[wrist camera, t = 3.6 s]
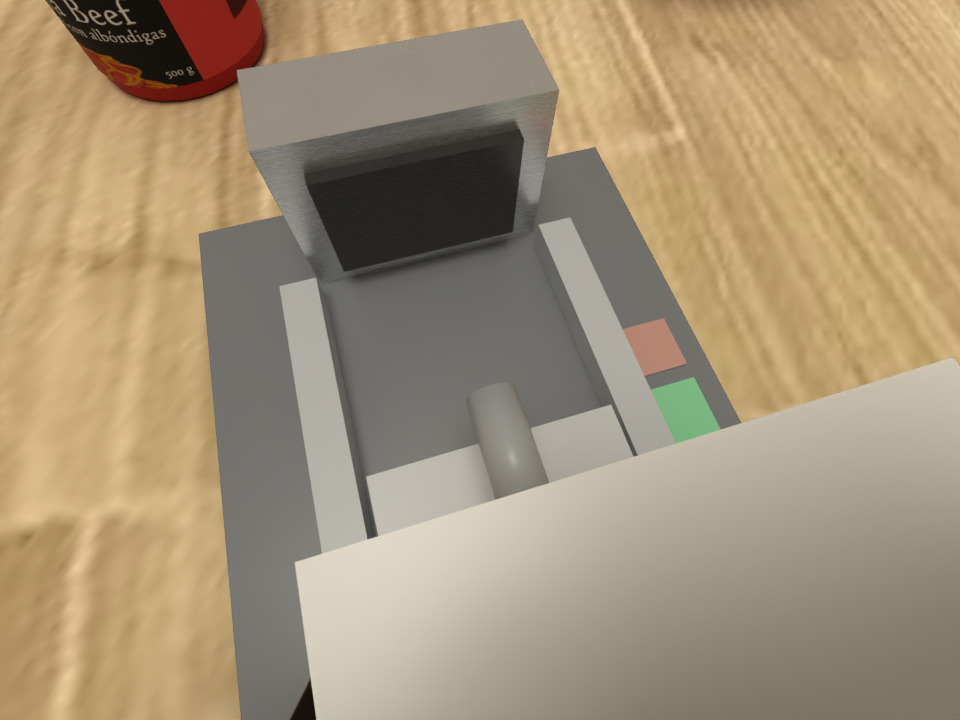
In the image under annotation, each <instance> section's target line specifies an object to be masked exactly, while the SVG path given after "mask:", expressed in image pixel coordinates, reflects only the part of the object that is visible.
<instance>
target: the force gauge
mask: <svg viewBox="0 0 960 720" xmlns="http://www.w3.org/2000/svg"><path fill="white" fill-rule="evenodd" d="M466 404H467V407H468V411H469V414H470V417H471V421H472V424H473V427H474V430H475V434H476V437H477V440H478V444H475V445H472V446H469V447H465V448H462V449H458V450H455V451H452V452H448V453H445V454H441V455H438V456H435V457H431V458H428V459H424V460H421V461H418V462H414V463H411V464H407V465H404V466H401V467H397V468H394V469H390V470H387V471H384V472H380V473H377V474H373V475H370V476H367V477H366V479H367V484H368V489H369V494H370V499H371V504H372V508H373V513H374V518H375V523H376V528H377V533H378V536H377V537H374V538H371V539H368V540H365V541H361V542H358V543H355V544H352V545H348V546H345V547H342V548H339V549H336V550H332V551H329V552H326V553H323V554H320V555H316V556H313V557H310V558H307V559H304V560H300V561H297V562H295V569H296V576H297V583H298V590H299V598H300V605H301V612H302V619H303V627H304V634H305V641H306V648H307V656H308V663H309V670H310V677H311V685H312V692H313V699H314V706H315V713H316V720H960V366H959V364H958V363H957V362H956V360H955V359H954V358H953V357H952V358H949V359H946V360H942V361H939V362H936V363H933V364H930V365H926V366H923V367H920V368H917V369H914V370H910V371H907V372H904V373H901V374H898V375H894V376H891V377H888V378H885V379H881V380H878V381H875V382H872V383H869V384H865V385H862V386H859V387H856V388H853V389H849V390H846V391H843V392H840V393H837V394H833V395H830V396H827V397H824V398H820V399H817V400H814V401H811V402H808V403H804V404H801V405H798V406H795V407H792V408H788V409H785V410H782V411H779V412H776V413H772V414H769V415H766V416H763V417H759V418H756V419H753V420H750V421H747V422H743V423H740V424H737V425H734V426H731V427H727V428H724V429H721V430H718V431H715V432H711V433H708V434H705V435H702V436H698V437H695V438H692V439H689V440H686V441H682V442H679V443H676V444H673V445H670V446H666V447H663V448H660V449H657V450H654V451H650V452H647V453H644V454H641V455H637V456H634V457H633V454H632V452H631V450H630V447H629V445H628V442H627V440H626V438H625V435H624V433H623V431H622V428H621V426H620V424H619V421H618V419H617V417H616V414H615V412H614V410H613V407H612V405H608V406H605V407H601V408H598V409H594V410H591V411H588V412H584V413H581V414H577V415H574V416H571V417H567V418H564V419H560V420H557V421H554V422H550V423H547V424H543V425H540V426H537V427H533V428H530V426H529V423H528V420H527V417H526V414H525V412H524V409H523V406H522V403H521V400H520V397H519V394H518V392H517V389H516V386H515V384H514V383H510V382H503V383H497V384H492V385H489V386H486V387H483V388H481V389H479V390H477V391H475V392H473V393H472V394H470V395H469V396H468V397H467V398H466Z"/></svg>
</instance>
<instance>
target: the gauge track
mask: <svg viewBox="0 0 960 720" xmlns="http://www.w3.org/2000/svg"><path fill="white" fill-rule="evenodd" d="M199 243H200V255H201V266H202V277H203V289H204V300H205V312H206V323H207V334H208V346H209V357H210V369H211V380H212V391H213V403H214V414H215V426H216V437H217V448H218V460H219V471H220V483H221V494H222V505H223V517H224V528H225V540H226V551H227V562H228V574H229V585H230V597H231V608H232V620H233V631H234V642H235V654H236V665H237V677H238V688H239V699H240V711H241V720H289V719H290V717H291V715H292V713H293V711H294V709H295V707H296V705H297V703H298V701H299V699H300V697H301V695H302V693H303V691H304V689H305V687H306V685H307V683H308V681H309V679H310V670H309V663H308V656H307V648H306V641H305V634H304V627H303V619H302V612H301V605H300V598H299V590H298V583H297V576H296V569H295V562H297V561H300V560H304V559H307V558H310V557H313V556H316V555H320V554H323V553H326V552H329V551H332V550H336V549H339V548H342V547H345V546H348V545H352V544H355V543H358V542H361V541H365V540H368V539H371V538H374V537H377V536H378V533H377V528H376V523H375V518H374V513H373V508H372V504H371V499H370V494H369V489H368V484H367V479H366V477H367V476H370V475H373V474H377V473H380V472H384V471H387V470H390V469H394V468H397V467H401V466H404V465H407V464H411V463H414V462H418V461H421V460H424V459H428V458H431V457H435V456H438V455H441V454H445V453H448V452H452V451H455V450H458V449H462V448H465V447H469V446H472V445H475V444H478V440H477V437H476V434H475V430H474V427H473V424H472V421H471V417H470V414H469V411H468V407H467V404H466V398H467V397H468V396H469V395H470V394H472V393H473V392H475V391H477V390H479V389H481V388H483V387H486V386H489V385H492V384H497V383H503V382H510V383H514V384H515V386H516V389H517V392H518V394H519V397H520V400H521V403H522V406H523V409H524V412H525V414H526V417H527V420H528V423H529V426H530V428H533V427H537V426H540V425H543V424H547V423H550V422H554V421H557V420H560V419H564V418H567V417H571V416H574V415H577V414H581V413H584V412H588V411H591V410H594V409H598V408H601V407H605V406H608V405H612V407H613V410H614V412H615V414H616V417H617V419H618V421H619V424H620V426H621V428H622V431H623V433H624V435H625V438H626V440H627V442H628V445H629V447H630V450H631V452H632V454H633V457H634V456H637V455H641V454H644V453H647V452H650V451H654V450H657V449H660V448H663V447H666V446H670V445H673V444H676V443H679V442H682V441H686V440H689V439H692V438H695V437H698V436H702V435H705V434H708V433H711V432H715V431H718V430H721V429H724V428H727V427H731V426H734V425H737V424H740V423H741V421H740V420H739V418H738V416H737V414H736V412H735V410H734V408H733V406H732V404H731V403H730V401H729V399H728V397H727V395H726V393H725V391H724V389H723V387H722V386H721V384H720V382H719V380H718V378H717V376H716V374H715V372H714V371H713V369H712V367H711V365H710V363H709V361H708V359H707V357H706V355H705V354H704V352H703V350H702V348H701V346H700V344H699V342H698V340H697V338H696V337H695V335H694V333H693V331H692V329H691V327H690V325H689V323H688V321H687V320H686V318H685V316H684V314H683V312H682V310H681V308H680V306H679V304H678V303H677V301H676V299H675V297H674V295H673V293H672V291H671V289H670V287H669V286H668V284H667V282H666V280H665V278H664V276H663V274H662V272H661V270H660V269H659V267H658V265H657V263H656V261H655V259H654V257H653V255H652V253H651V252H650V250H649V248H648V246H647V244H646V242H645V240H644V238H643V236H642V235H641V233H640V231H639V229H638V227H637V225H636V223H635V221H634V219H633V218H632V216H631V214H630V212H629V210H628V208H627V206H626V204H625V202H624V201H623V199H622V197H621V195H620V193H619V191H618V189H617V187H616V185H615V184H614V182H613V180H612V178H611V176H610V174H609V172H608V170H607V168H606V167H605V165H604V163H603V161H602V159H601V157H600V155H599V153H598V151H597V150H596V148H595V147H594V148H589V149H585V150H580V151H576V152H571V153H567V154H562V155H557V156H553V157H548V158H546V164H545V169H544V175H543V180H542V185H541V191H540V196H539V202H538V207H537V213H536V218H535V223H534V229H533V234H532V235H529V236H525V237H521V238H517V239H513V240H508V241H504V242H500V243H496V244H492V245H488V246H483V247H479V248H475V249H471V250H467V251H462V252H458V253H454V254H450V255H446V256H442V257H437V258H433V259H429V260H425V261H421V262H416V263H412V264H408V265H404V266H400V267H396V268H391V269H387V270H383V271H379V272H375V273H371V274H366V275H362V276H358V277H354V278H350V279H345V280H341V281H337V282H333V283H329V284H325V285H321V284H320V282H319V281H318V279H317V277H316V275H315V273H314V271H313V269H312V268H311V266H310V264H309V262H308V260H307V258H306V256H305V255H304V253H303V251H302V249H301V247H300V245H299V244H298V242H297V240H296V238H295V236H294V234H293V232H292V231H291V229H290V227H289V225H288V223H287V221H286V219H285V218H284V216H278V217H273V218H269V219H264V220H260V221H255V222H251V223H246V224H241V225H237V226H232V227H228V228H223V229H219V230H214V231H209V232H205V233H200V234H199Z"/></svg>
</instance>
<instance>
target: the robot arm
mask: <svg viewBox="0 0 960 720" xmlns="http://www.w3.org/2000/svg"><path fill="white" fill-rule="evenodd" d="M289 720H316V713H315V706H314V699H313V692H312V685H311V677H310V679H309V681H308V683H307V685H306V687H305V689H304V691H303V693H302V695H301V697H300V699H299V701H298V703H297V705H296V707H295V709H294V711H293V713H292V715H291V717H290V719H289Z"/></svg>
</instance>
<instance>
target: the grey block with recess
mask: <svg viewBox="0 0 960 720" xmlns="http://www.w3.org/2000/svg"><path fill="white" fill-rule="evenodd" d="M237 76H238V82H239V89H240V96H241V102H242V109H243V116H244V122H245V129H246V136H247V142H248V149H249V153H250V155H251V156H252V158H253V160H254V162H255V164H256V166H257V168H258V169H259V171H260V173H261V175H262V177H263V179H264V181H265V182H266V184H267V186H268V188H269V190H270V192H271V194H272V195H273V197H274V199H275V201H276V203H277V205H278V206H279V208H280V210H281V212H282V214H283V216H284V218H285V219H286V221H287V223H288V225H289V227H290V229H291V231H292V232H293V234H294V236H295V238H296V240H297V242H298V244H299V245H300V247H301V249H302V251H303V253H304V255H305V256H306V258H307V260H308V262H309V264H310V266H311V268H312V269H313V271H314V273H315V275H316V277H317V279H318V281H319V282H320V284H321V285H325V284H329V283H333V282H337V281H341V280H345V279H350V278H354V277H358V276H362V275H366V274H371V273H375V272H379V271H383V270H387V269H391V268H396V267H400V266H404V265H408V264H412V263H416V262H421V261H425V260H429V259H433V258H437V257H442V256H446V255H450V254H454V253H458V252H462V251H467V250H471V249H475V248H479V247H483V246H488V245H492V244H496V243H500V242H504V241H508V240H513V239H517V238H521V237H525V236H529V235H532V234H533V229H534V223H535V218H536V213H537V207H538V202H539V196H540V191H541V185H542V180H543V175H544V169H545V164H546V158H547V153H548V147H549V142H550V137H551V131H552V126H553V120H554V115H555V109H556V104H557V99H558V93H559V89H558V87H557V85H556V83H555V81H554V79H553V77H552V75H551V73H550V71H549V69H548V67H547V66H546V64H545V62H544V60H543V58H542V56H541V54H540V52H539V50H538V48H537V46H536V45H535V43H534V41H533V39H532V37H531V35H530V33H529V31H528V29H527V27H526V25H525V23H524V22H523V20H517V21H511V22H505V23H500V24H494V25H488V26H483V27H477V28H472V29H466V30H460V31H455V32H449V33H443V34H438V35H432V36H427V37H421V38H415V39H410V40H404V41H398V42H393V43H387V44H382V45H376V46H370V47H365V48H359V49H353V50H348V51H342V52H337V53H331V54H325V55H320V56H314V57H308V58H303V59H297V60H292V61H286V62H280V63H275V64H269V65H263V66H258V67H252V68H246V69H241V70H237Z"/></svg>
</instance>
